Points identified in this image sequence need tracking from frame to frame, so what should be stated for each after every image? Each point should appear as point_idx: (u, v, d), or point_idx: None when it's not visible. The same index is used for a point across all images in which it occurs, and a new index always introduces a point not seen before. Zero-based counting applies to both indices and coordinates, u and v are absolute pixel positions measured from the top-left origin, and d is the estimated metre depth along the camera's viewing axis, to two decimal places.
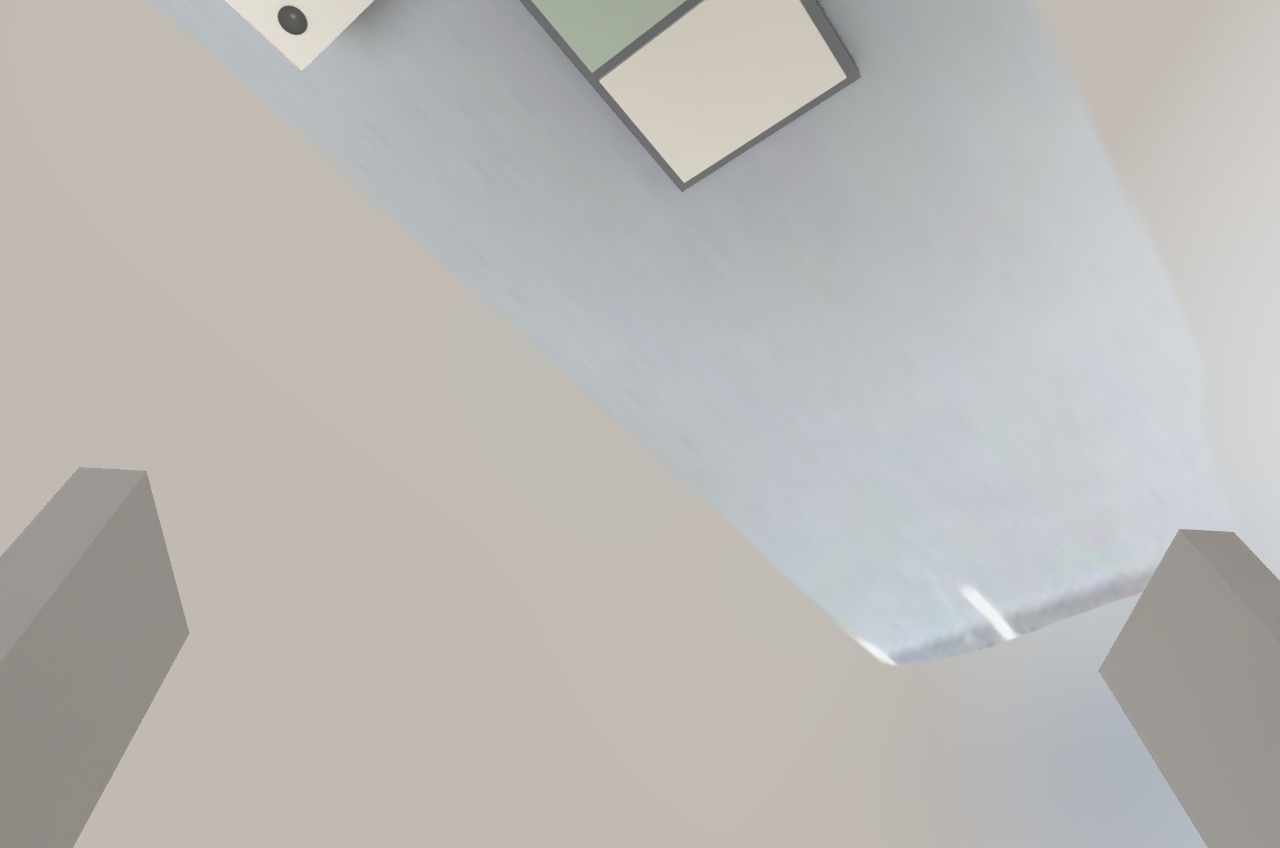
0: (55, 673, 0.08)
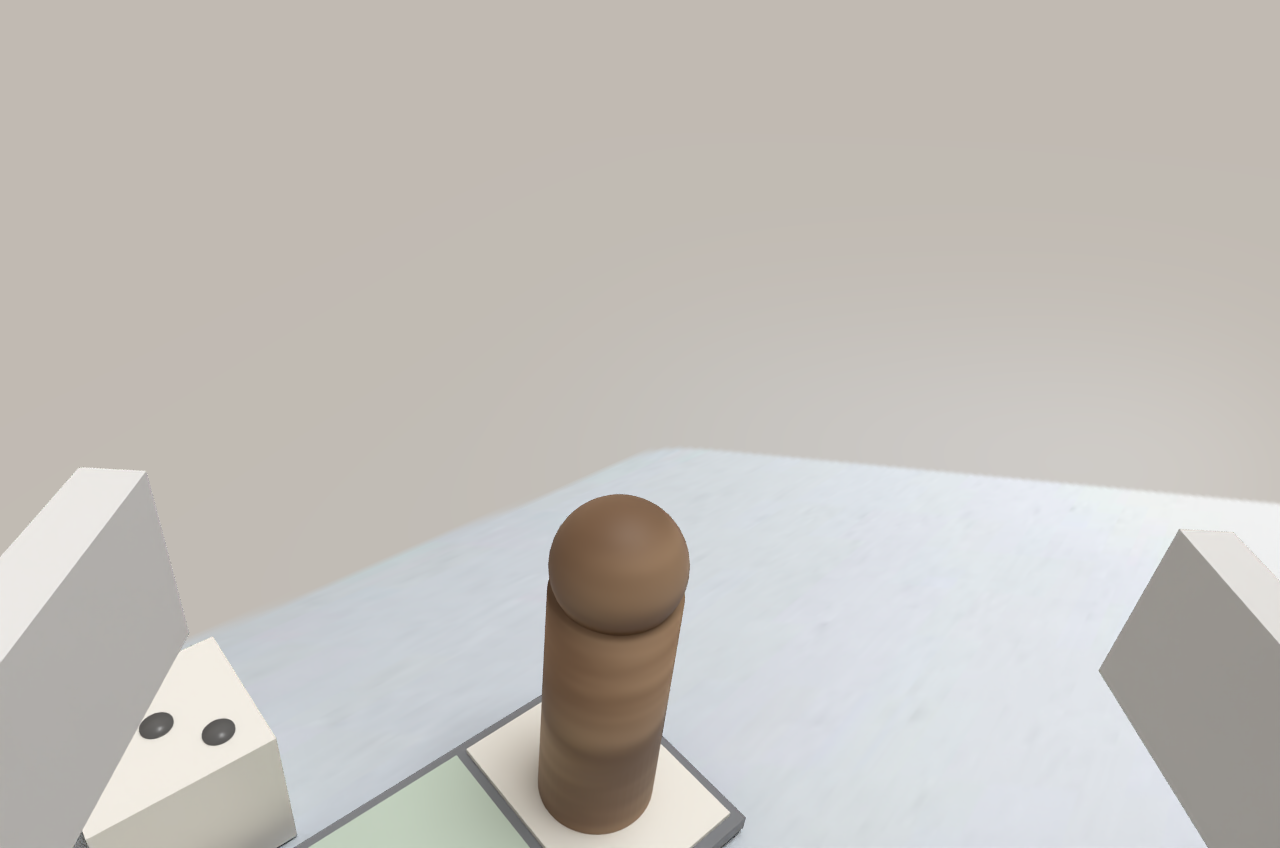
0: (55, 673, 0.08)
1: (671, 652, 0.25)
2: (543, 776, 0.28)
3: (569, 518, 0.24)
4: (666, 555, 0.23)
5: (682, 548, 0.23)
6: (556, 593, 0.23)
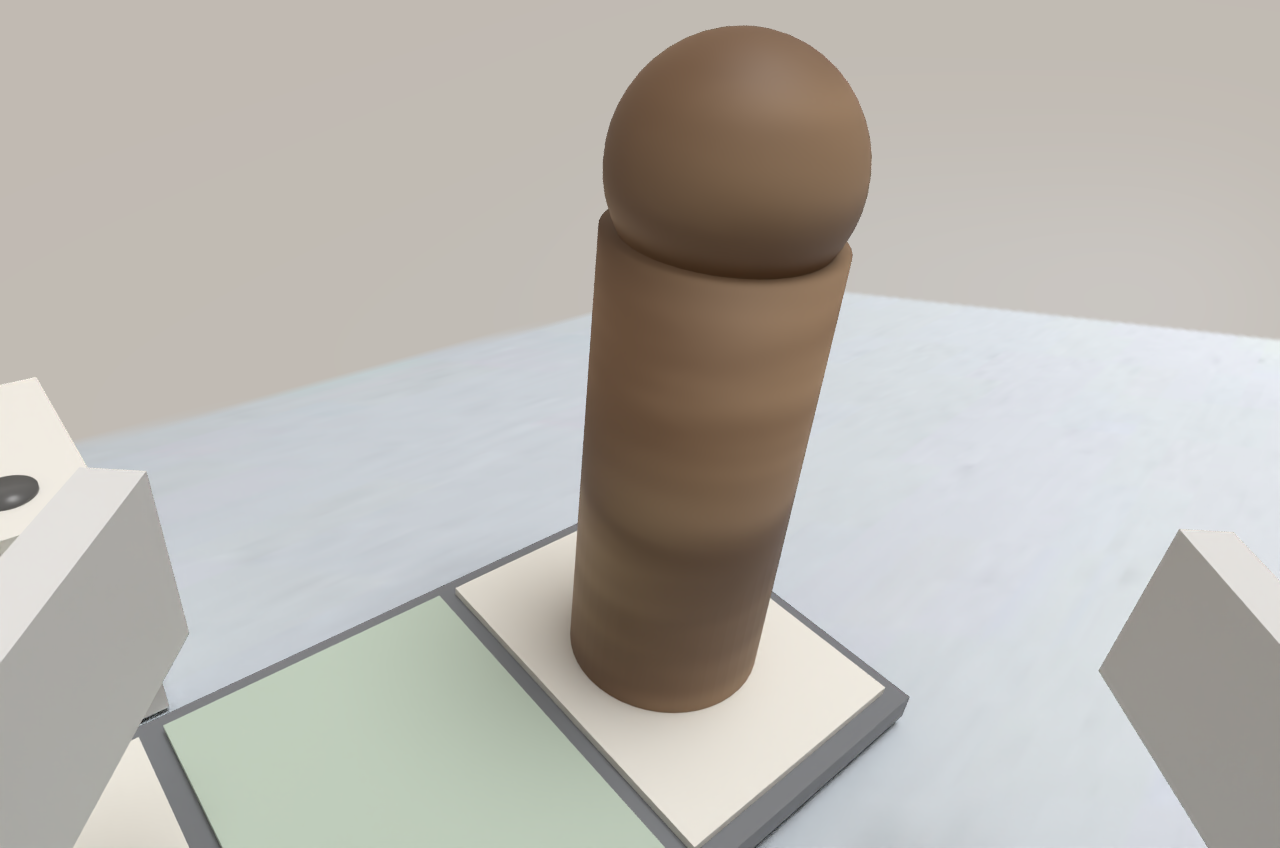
0: (55, 673, 0.08)
1: (826, 347, 0.13)
2: (581, 614, 0.17)
3: (644, 67, 0.12)
4: (841, 103, 0.11)
5: (863, 115, 0.12)
6: (620, 198, 0.12)
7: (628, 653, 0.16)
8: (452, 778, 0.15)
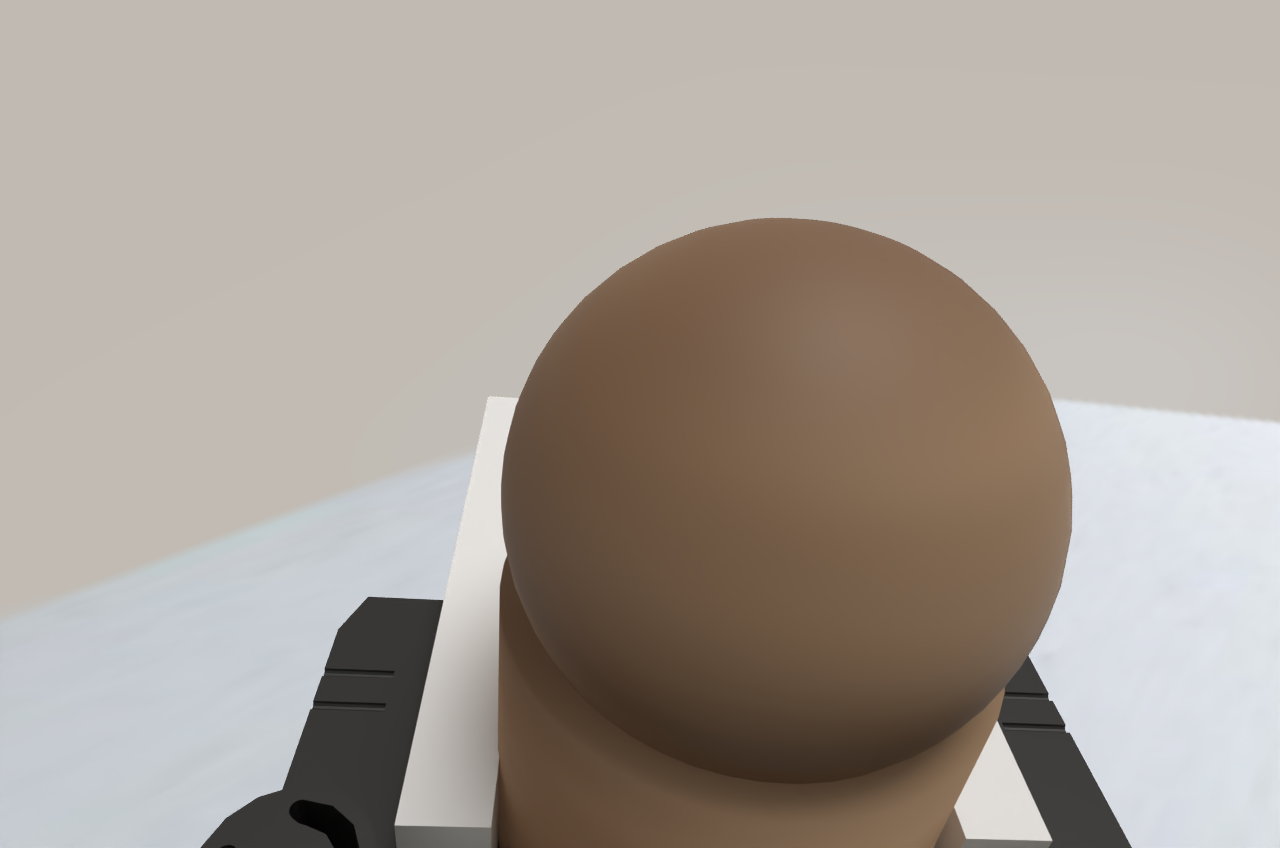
0: None
1: None
2: None
3: (585, 299, 0.06)
4: (1033, 430, 0.05)
5: None
6: (529, 600, 0.06)
7: None
8: None
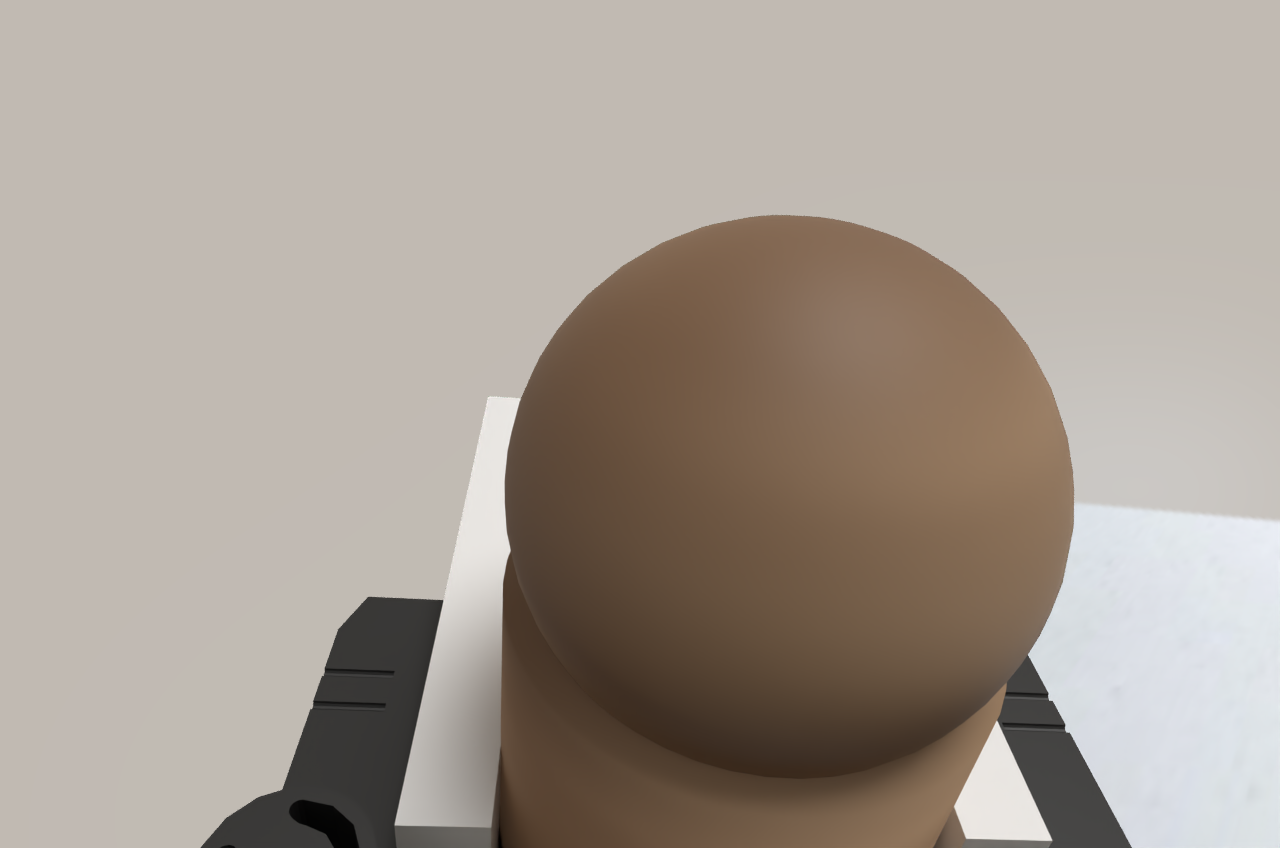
0: None
1: None
2: None
3: (588, 295, 0.06)
4: (1036, 425, 0.05)
5: None
6: (532, 596, 0.06)
7: None
8: None
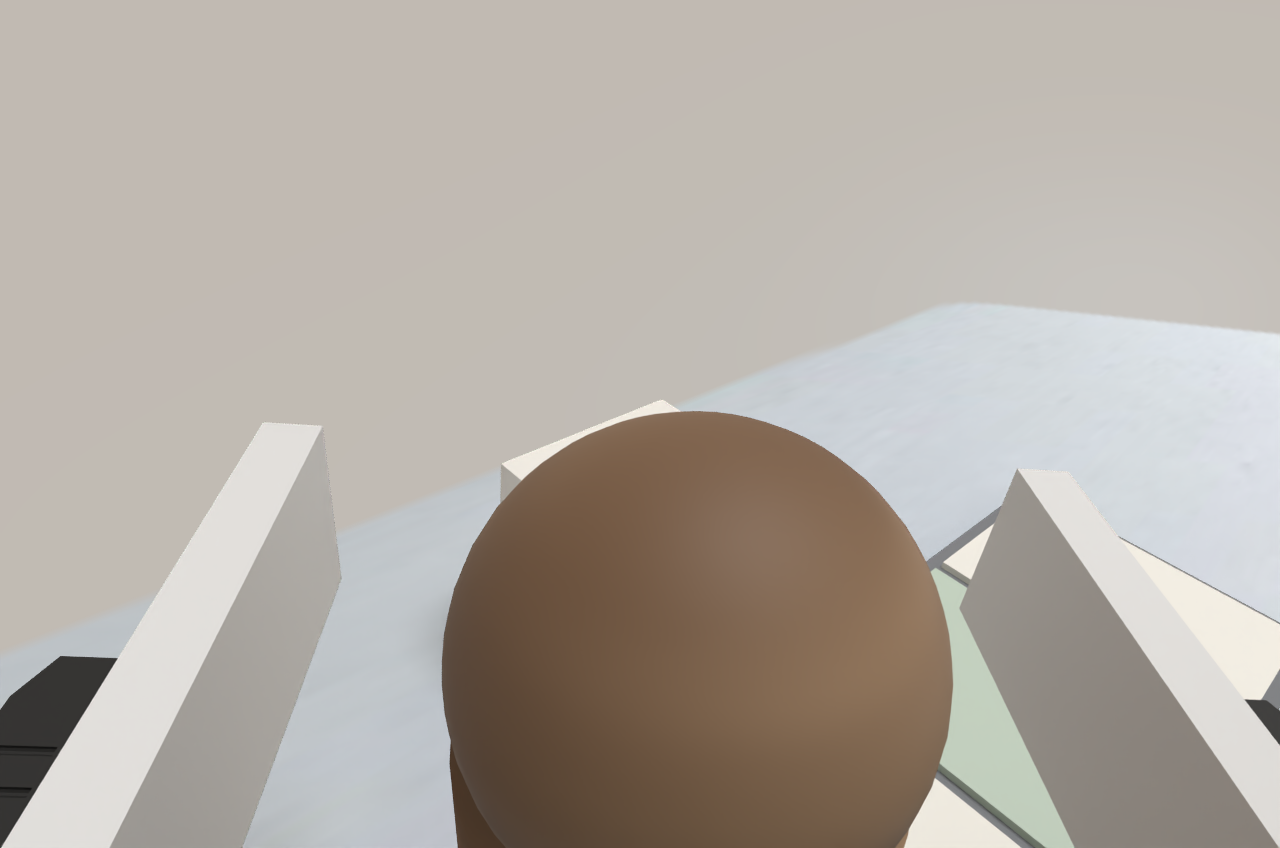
0: (271, 597, 0.10)
1: None
2: None
3: (512, 496, 0.07)
4: (901, 641, 0.05)
5: (938, 603, 0.06)
6: (464, 778, 0.06)
7: None
8: None
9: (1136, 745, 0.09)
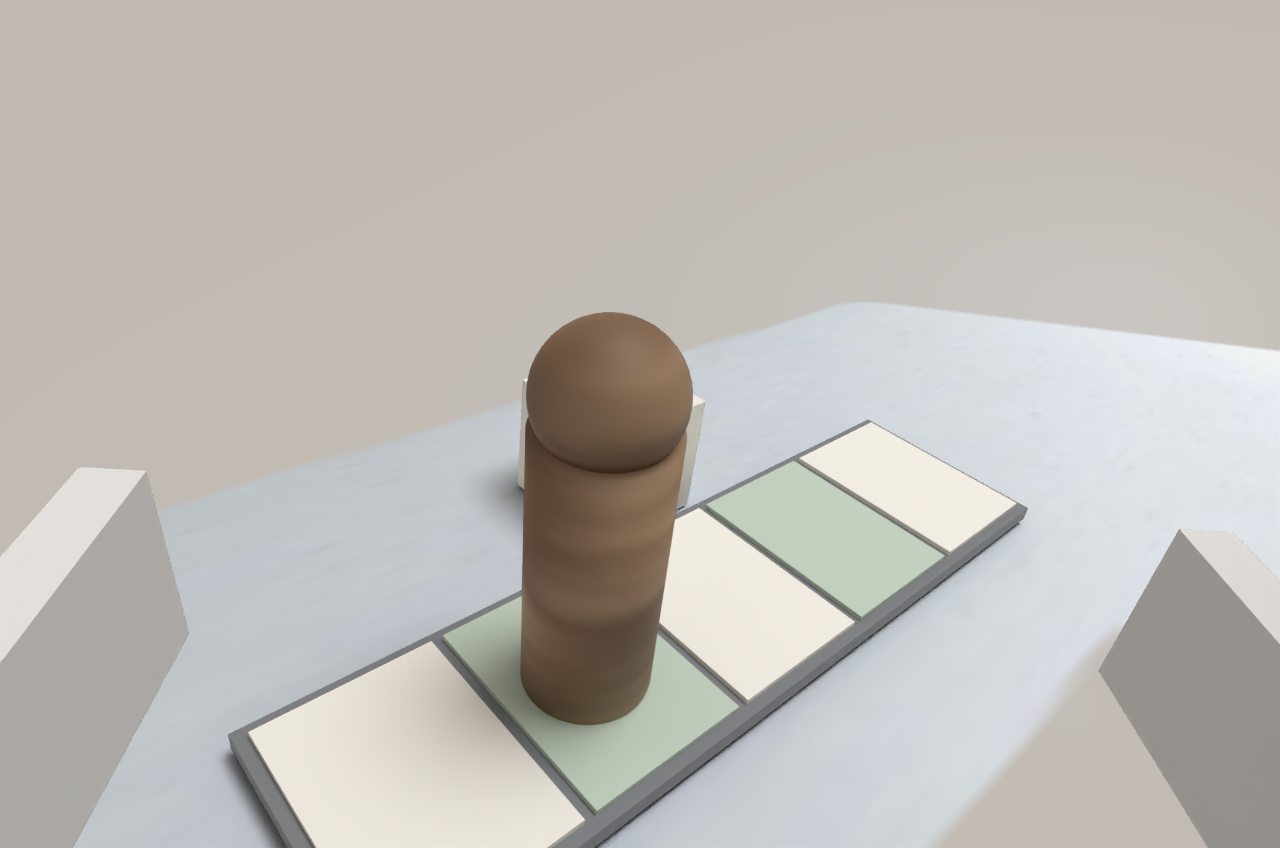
0: (55, 673, 0.08)
1: (669, 503, 0.21)
2: (524, 657, 0.25)
3: (551, 336, 0.20)
4: (663, 375, 0.19)
5: (684, 372, 0.20)
6: (533, 422, 0.20)
7: (553, 685, 0.24)
8: (838, 526, 0.34)
9: None
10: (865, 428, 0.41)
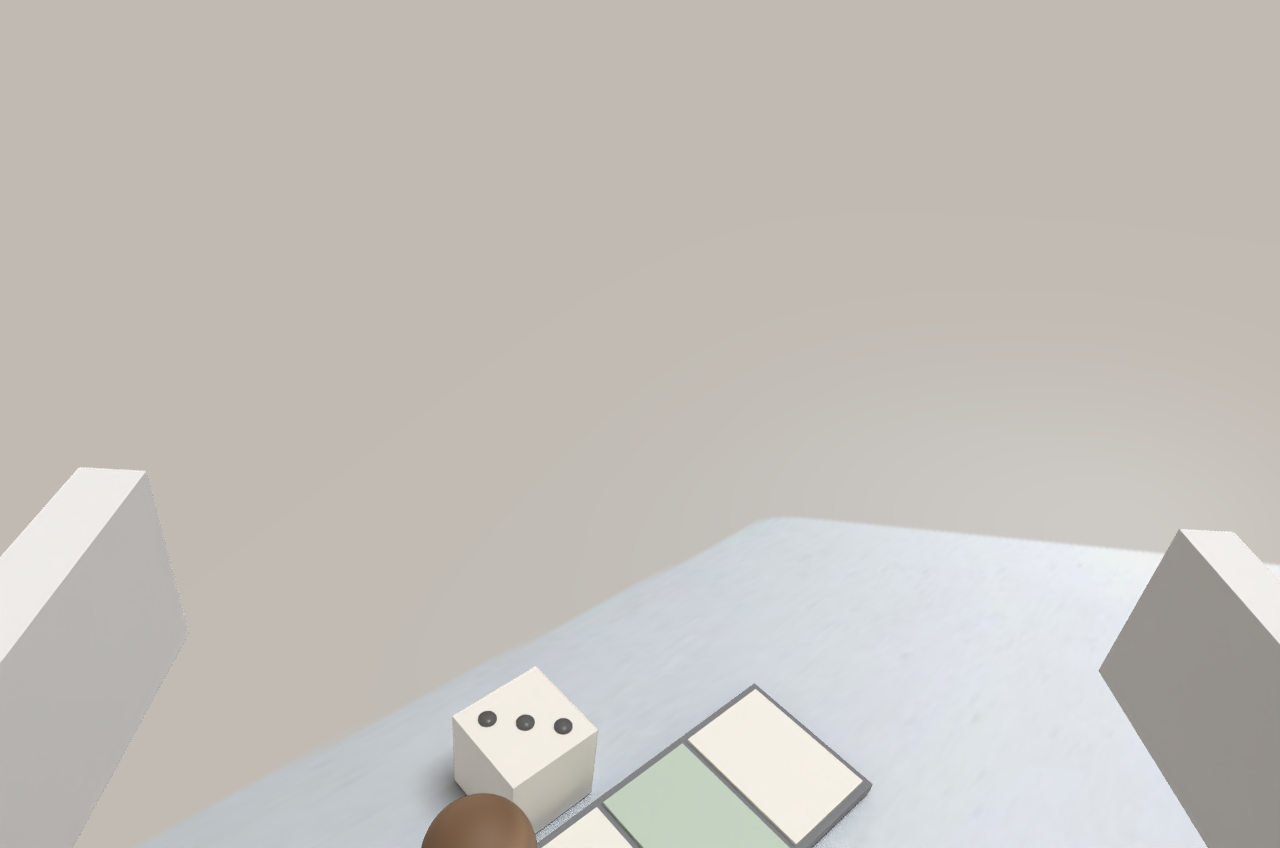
0: (55, 673, 0.08)
1: None
2: None
3: (437, 819, 0.29)
4: None
5: None
6: None
7: None
8: (708, 820, 0.42)
9: None
10: (749, 697, 0.49)
